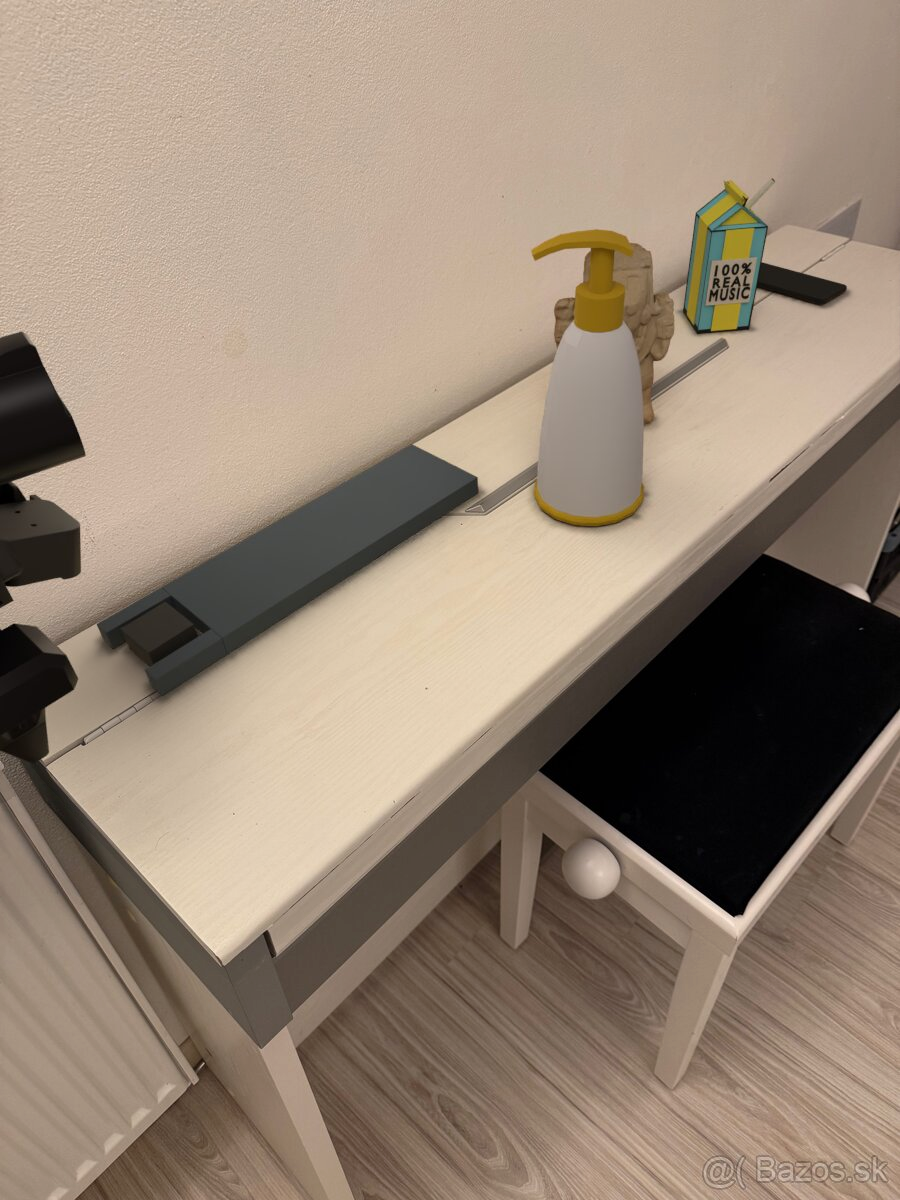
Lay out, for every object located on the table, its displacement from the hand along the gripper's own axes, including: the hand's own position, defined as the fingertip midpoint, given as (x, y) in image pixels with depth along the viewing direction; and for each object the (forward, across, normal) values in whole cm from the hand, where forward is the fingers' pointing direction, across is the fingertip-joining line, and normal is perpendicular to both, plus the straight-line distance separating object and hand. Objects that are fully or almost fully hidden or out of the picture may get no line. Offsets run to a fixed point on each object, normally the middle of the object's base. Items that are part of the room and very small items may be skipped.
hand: (5, 718), depth 54 cm
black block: (+12, +11, -15) cm, 22 cm away
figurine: (+12, +3, -69) cm, 70 cm away
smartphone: (+12, +5, -115) cm, 116 cm away
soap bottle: (+12, -4, -56) cm, 57 cm away
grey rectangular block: (+12, +10, -30) cm, 34 cm away
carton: (+12, +7, -100) cm, 101 cm away
